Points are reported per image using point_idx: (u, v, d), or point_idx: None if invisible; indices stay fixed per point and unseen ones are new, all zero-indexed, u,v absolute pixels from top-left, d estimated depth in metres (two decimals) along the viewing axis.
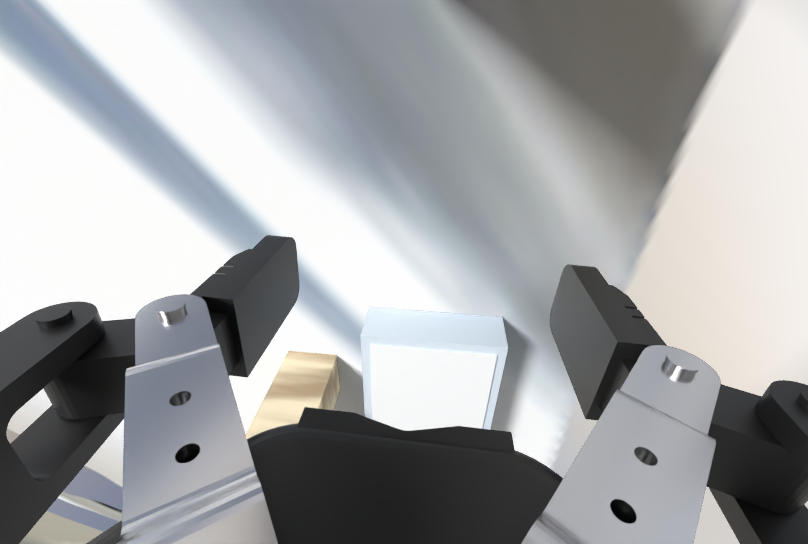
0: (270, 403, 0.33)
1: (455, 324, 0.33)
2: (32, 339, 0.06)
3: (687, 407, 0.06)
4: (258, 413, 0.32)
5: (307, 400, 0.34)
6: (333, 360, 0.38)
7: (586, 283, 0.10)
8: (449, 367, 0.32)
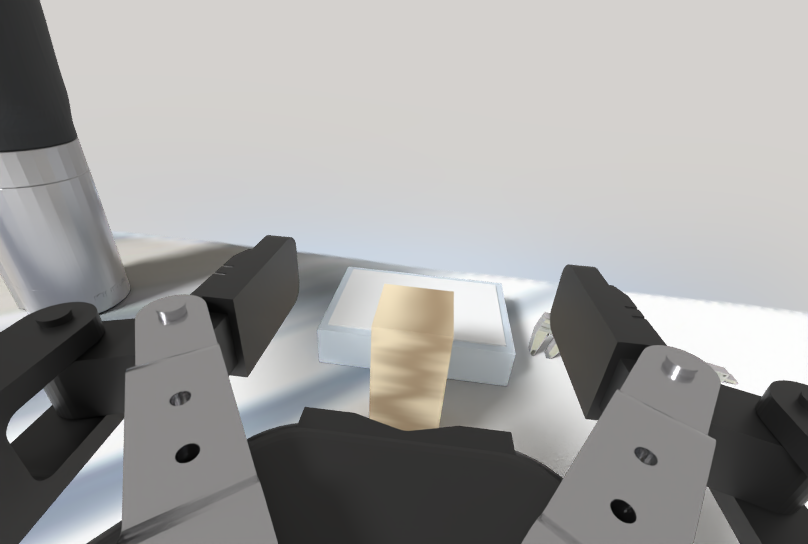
0: None
1: None
2: (32, 339, 0.06)
3: (687, 407, 0.06)
4: (370, 376, 0.25)
5: None
6: None
7: (586, 283, 0.10)
8: (361, 287, 0.41)
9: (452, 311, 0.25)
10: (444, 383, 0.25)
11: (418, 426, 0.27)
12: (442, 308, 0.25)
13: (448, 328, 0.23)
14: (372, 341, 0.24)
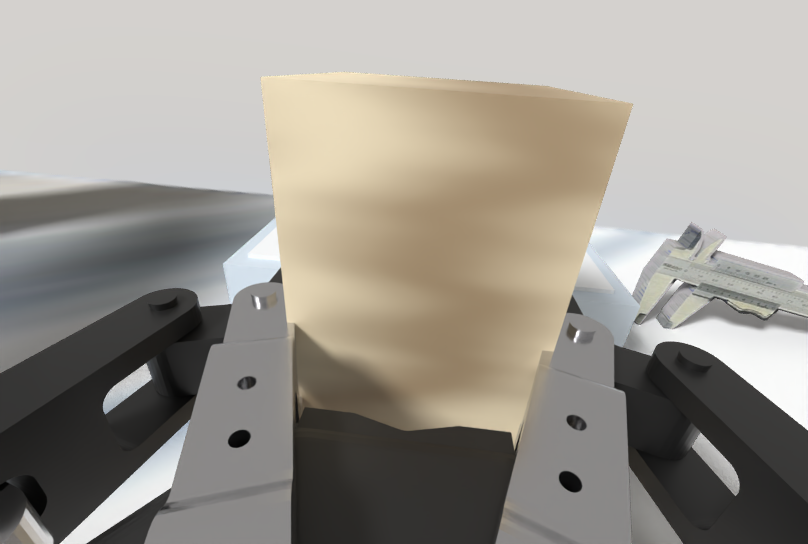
0: None
1: None
2: (140, 319, 0.07)
3: (575, 361, 0.07)
4: None
5: None
6: None
7: None
8: None
9: (571, 91, 0.07)
10: (551, 341, 0.07)
11: None
12: (532, 88, 0.07)
13: (591, 98, 0.06)
14: (275, 162, 0.06)
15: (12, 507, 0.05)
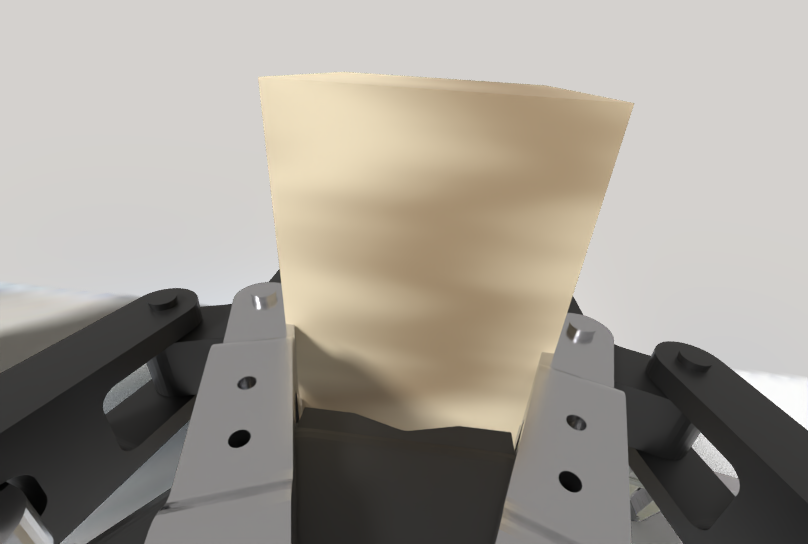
0: None
1: None
2: (141, 320, 0.07)
3: (575, 361, 0.07)
4: None
5: None
6: None
7: None
8: None
9: None
10: (551, 342, 0.07)
11: None
12: (532, 87, 0.07)
13: (591, 97, 0.06)
14: (273, 163, 0.06)
15: (12, 507, 0.05)
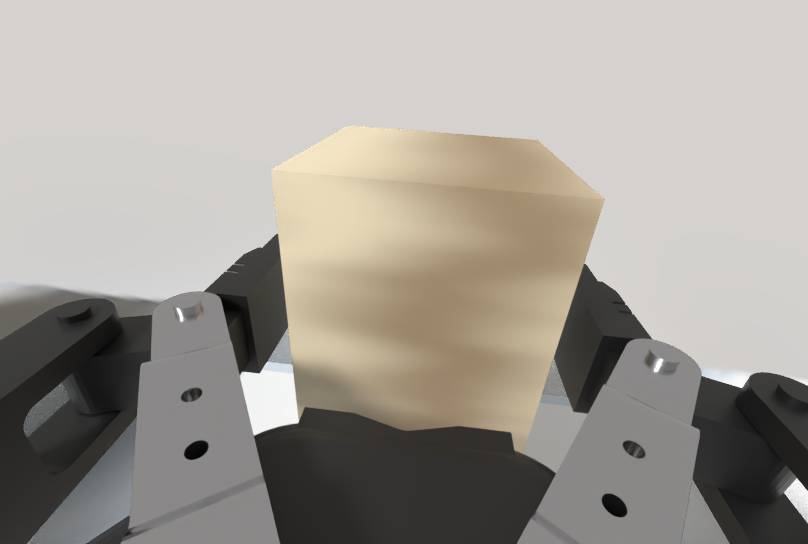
0: None
1: None
2: (51, 335, 0.07)
3: (667, 397, 0.06)
4: None
5: None
6: None
7: None
8: None
9: (557, 160, 0.08)
10: (536, 394, 0.07)
11: None
12: (521, 155, 0.08)
13: (569, 184, 0.06)
14: (284, 239, 0.06)
15: None
